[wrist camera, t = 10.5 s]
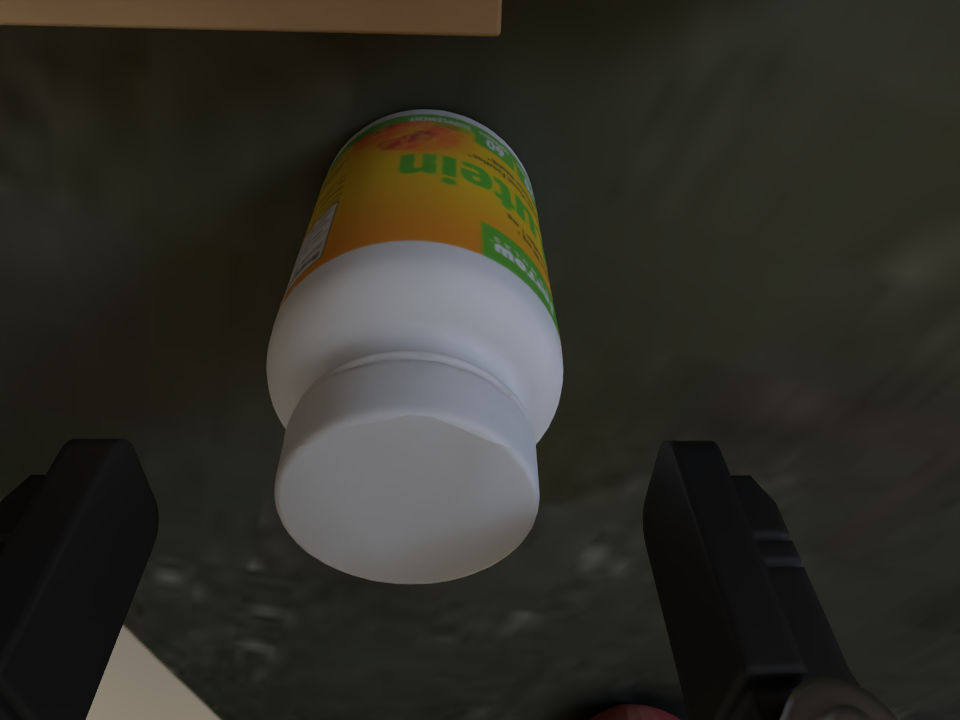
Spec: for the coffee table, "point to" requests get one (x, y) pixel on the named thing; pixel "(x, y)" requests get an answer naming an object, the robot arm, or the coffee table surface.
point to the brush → (266, 15)
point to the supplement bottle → (416, 356)
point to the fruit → (634, 713)
